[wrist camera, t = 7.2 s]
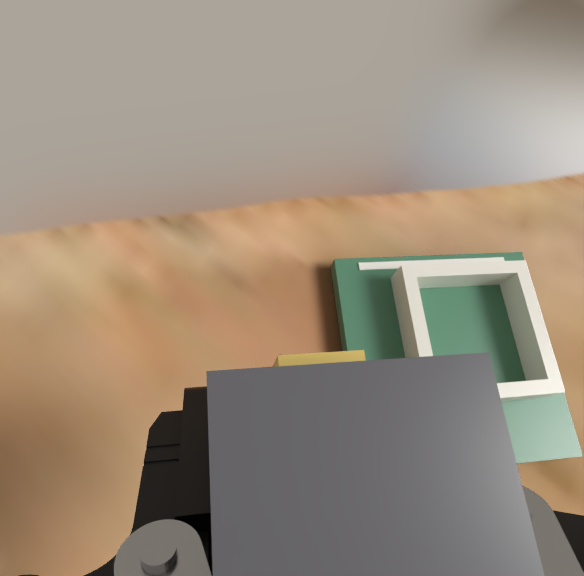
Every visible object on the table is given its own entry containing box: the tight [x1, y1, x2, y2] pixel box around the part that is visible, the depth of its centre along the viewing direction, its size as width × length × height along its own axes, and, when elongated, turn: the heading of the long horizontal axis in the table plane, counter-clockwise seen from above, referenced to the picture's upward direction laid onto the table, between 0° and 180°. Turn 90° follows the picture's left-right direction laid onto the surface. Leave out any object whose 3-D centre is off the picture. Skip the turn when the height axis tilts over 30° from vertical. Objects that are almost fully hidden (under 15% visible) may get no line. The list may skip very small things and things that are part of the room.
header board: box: [331, 252, 583, 463], centre depth 28 cm, size 13×13×3 cm
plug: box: [207, 350, 545, 576], centre depth 10 cm, size 4×5×10 cm
